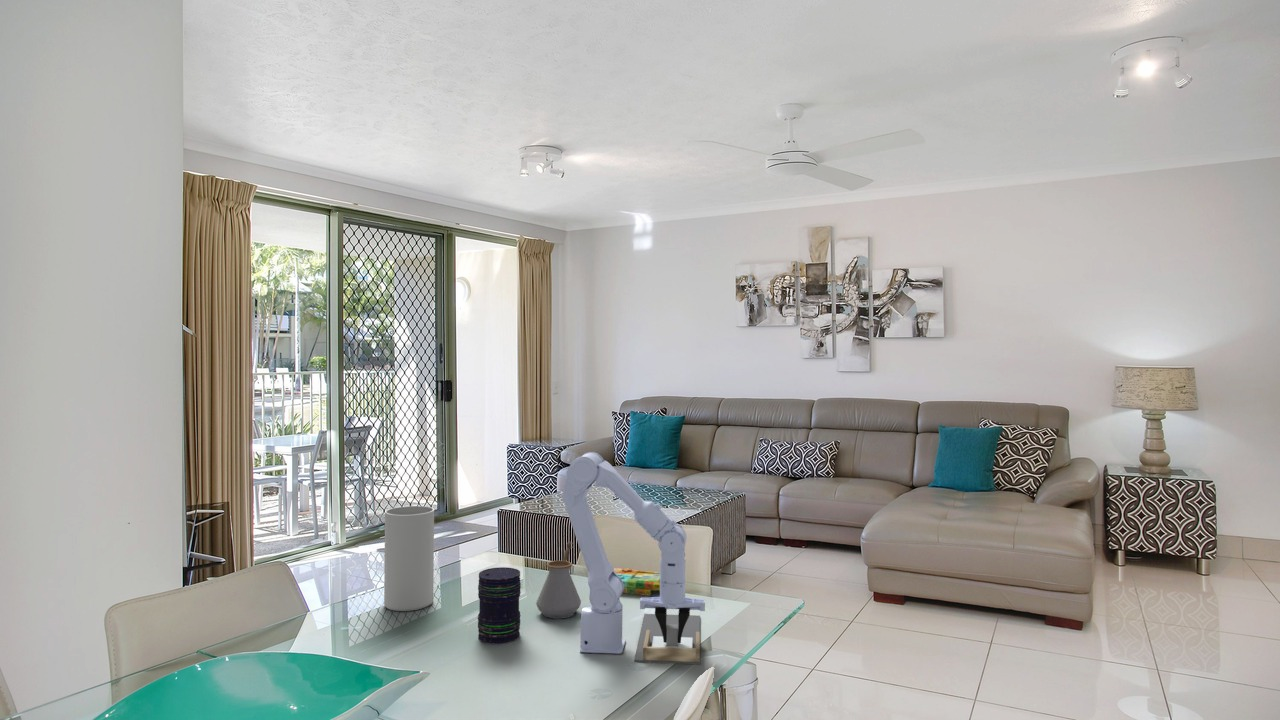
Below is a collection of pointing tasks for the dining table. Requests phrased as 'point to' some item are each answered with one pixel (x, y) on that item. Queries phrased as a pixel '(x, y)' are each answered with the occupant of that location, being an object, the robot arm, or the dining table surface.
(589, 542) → the robot arm
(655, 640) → the cover plate
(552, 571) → the grey faceted twig vase
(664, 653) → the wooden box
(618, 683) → the dining table surface
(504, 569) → the storage jar
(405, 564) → the cylinder vase
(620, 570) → the puzzle game
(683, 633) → the rubber mat
